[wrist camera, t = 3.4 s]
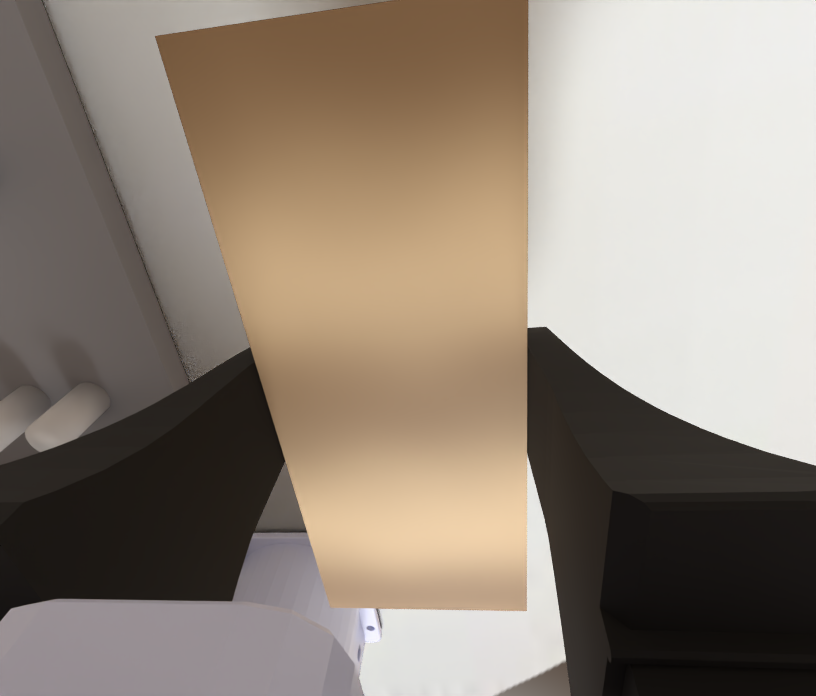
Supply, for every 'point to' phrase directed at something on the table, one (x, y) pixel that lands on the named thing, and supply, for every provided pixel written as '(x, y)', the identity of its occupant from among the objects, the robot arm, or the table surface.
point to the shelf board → (381, 278)
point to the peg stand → (65, 261)
